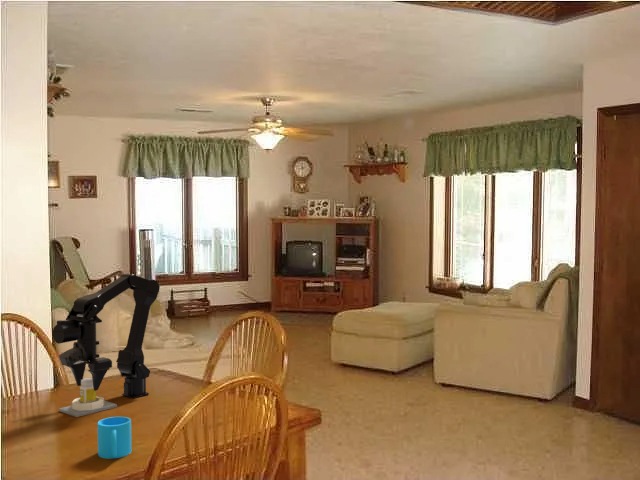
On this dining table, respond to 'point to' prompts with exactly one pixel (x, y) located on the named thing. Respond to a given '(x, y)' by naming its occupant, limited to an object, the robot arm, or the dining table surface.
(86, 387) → the supplement bottle
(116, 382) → the dining table surface
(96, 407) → the holder board
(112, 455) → the mug
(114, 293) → the robot arm
